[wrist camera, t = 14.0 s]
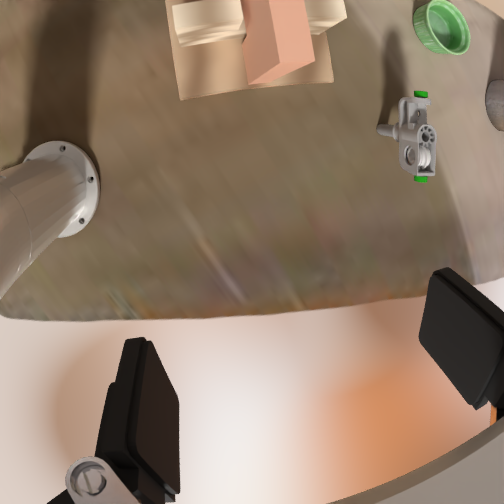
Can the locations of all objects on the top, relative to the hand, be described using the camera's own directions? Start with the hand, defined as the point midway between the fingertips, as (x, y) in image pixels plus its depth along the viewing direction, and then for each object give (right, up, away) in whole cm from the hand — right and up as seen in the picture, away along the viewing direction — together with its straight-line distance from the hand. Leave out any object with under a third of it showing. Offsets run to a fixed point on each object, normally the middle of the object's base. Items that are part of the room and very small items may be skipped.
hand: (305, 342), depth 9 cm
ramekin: (+25, +36, +22) cm, 49 cm away
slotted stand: (-2, +29, +20) cm, 35 cm away
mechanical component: (+16, +19, +28) cm, 37 cm away
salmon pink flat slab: (-2, +28, +19) cm, 34 cm away
